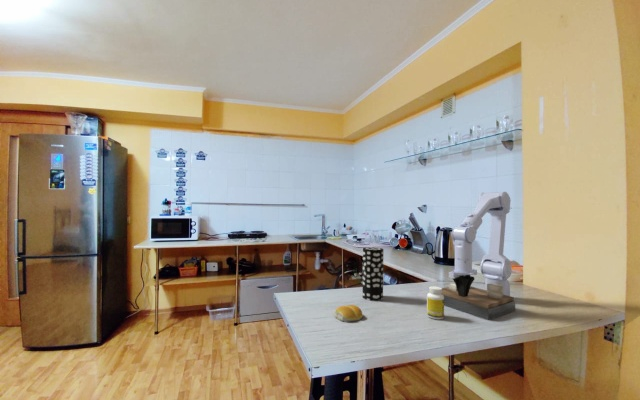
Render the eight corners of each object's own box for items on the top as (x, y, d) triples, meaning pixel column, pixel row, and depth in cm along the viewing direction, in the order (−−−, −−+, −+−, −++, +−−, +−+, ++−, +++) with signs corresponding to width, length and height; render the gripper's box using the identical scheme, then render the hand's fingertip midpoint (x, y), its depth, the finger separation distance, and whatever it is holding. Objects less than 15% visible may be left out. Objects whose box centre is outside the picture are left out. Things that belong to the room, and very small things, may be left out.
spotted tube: (367, 293, 120) (368, 246, 121) (386, 297, 116) (386, 248, 116) (358, 298, 114) (359, 248, 114) (377, 302, 109) (378, 250, 110)
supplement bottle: (445, 320, 92) (445, 290, 92) (428, 319, 93) (428, 289, 93) (442, 314, 97) (442, 286, 97) (425, 313, 98) (425, 285, 98)
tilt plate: (462, 287, 119) (462, 274, 120) (513, 300, 102) (513, 286, 102) (436, 292, 111) (436, 279, 111) (488, 308, 94) (488, 292, 94)
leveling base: (460, 295, 120) (460, 286, 120) (515, 311, 102) (515, 301, 102) (433, 301, 111) (433, 292, 111) (488, 320, 92) (488, 309, 93)
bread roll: (367, 318, 93) (367, 306, 93) (345, 324, 88) (346, 311, 88) (351, 311, 100) (351, 299, 100) (330, 316, 95) (330, 304, 95)
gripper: (461, 262, 96) (461, 302, 96) (485, 259, 104) (485, 296, 103) (443, 258, 103) (443, 296, 102) (466, 256, 110) (466, 291, 109)
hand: (463, 295), depth 103 cm, fingers closed on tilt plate
